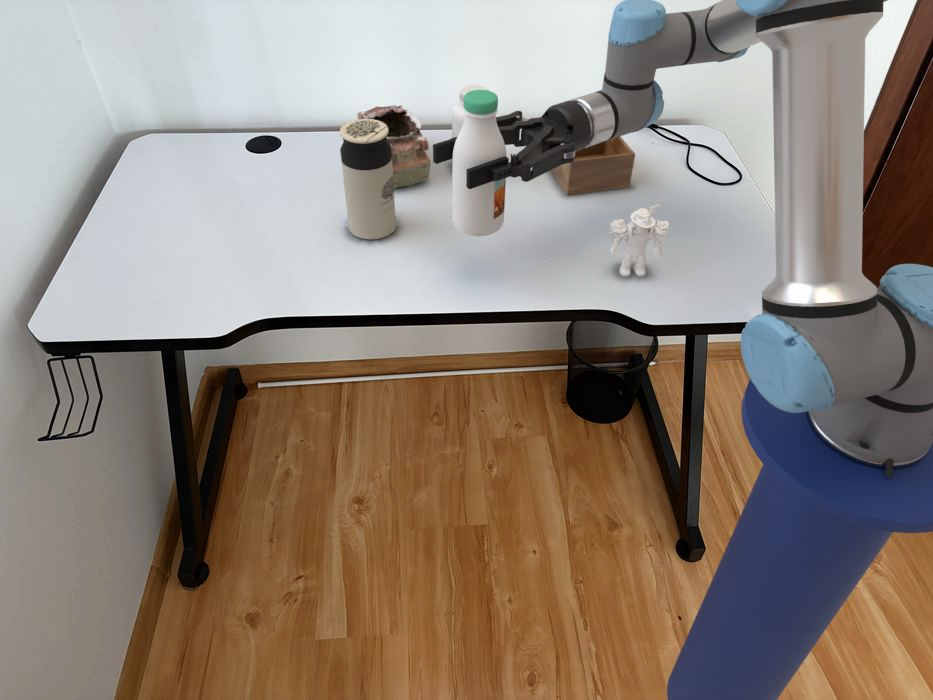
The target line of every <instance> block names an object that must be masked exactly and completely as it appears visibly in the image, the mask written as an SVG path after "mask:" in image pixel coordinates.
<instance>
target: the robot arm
mask: <svg viewBox="0 0 933 700" xmlns="http://www.w3.org/2000/svg"><path fill="white" fill-rule="evenodd" d="M887 1H889V0H720V1H718V2H716V3H715V4H712V5H710V6H708V7H707V8H703V9H698V10H691V11H690V10H689V11H680V12H668V13H667V11H666V8H665V6H664V5H663V4H662V3H661V2H660V1H659V2H658V1H656V0H622V1H620V2H619V3H618V4H617V5H616V6H615V7H614V9H613V13H612V18H611V21H610V26H609V30H608V41H607V48H606V49H607V51H606V59H605V70H604V75H603V81H602V88H601V89H599V90H597V91H594V92H591V93H587V94H584V95H580V96H577V97H574V98H571V99H570V100H565V101H562V102H559V103H556V104H553V105H550V106H549V107H548V108H547V109H546V110H545V112H544V113H543V114H542V115H541V116H540V117H531V118H526V117H523V111H522V110H515V111H513V112H510V113H509V114H504V115H500V116H496V122H497V125H498V128H499V131H500V133H501V135H502V138H503V140H504V144H505V146H509V145H513V146H514V147H515V148H522V147H523V148H522V149H521V150H520V151H519V152H518V153H516V154H513V153H510V159H509V157H508V156H507V155H506V156H504V157H501V158H499V159H496V160H493V161H490V162H487V163H484V164H481V165H478V166H475V167H472V168H469V169H467V180H466V187H467V188H468V189H472V188H475V187H478V186H481V185H484V184H486V183H489V182H492V181H499V180H502V179H504V178H506V179H507V178H510V177H511V178H518V177H520V178H521V181H522V182H525V183H528V182H530V181H532V180H534V179H536V178H539V177H540V176H542V175H544V174H546V173H548V172H551V170H552V169H554V168H556V167H558V166H560V165H562V164H567V163H571V162H574V158H575V152H577V151H580V150H582V149H584V148H587V147H590V146H593V145H596V144H598V143H601V142H605V141H607V140H611V139H614V138H617V137H622V136H625V135H630V134H632V133H636V132H638V131H641V130H643V129H644V128H647V127H649V126H651V125H653V124H655V123H656V122H658V120H659V119H660V118H661V116H662V114H663V112H664V108H665V100H664V98H663V95H664V93H663V89H662V87H661V86H660V85H659V83H658V82H657V81H656V80H655V77H656V73H657V70H658V69H659V70H660V69H665V68H667V69H668V68H674V67H681V66H688V65H697V64H705V63H715V62H717V63H723V62H727V61H730V60H735V59H739V58H741V57H742V56H744V55H745V54H746V53H747V52H748V50H749V48H751V47H752V46H755V45H757V44H760V43H762V44H764V45H765V46H766V47H767V48H768V49H769V50H770V52H771V58H772V59H771V61H772V62H771V63H772V64H771V65H772V117H773V119H772V121H773V122H772V125H773V126H772V127H773V177H774V179H773V180H774V184H773V185H774V233H775V235H774V236H775V238H774V239H775V240H774V241H775V277H774V279H773V280H772V281H770V282H769V284H768V285H767V286H766V287H765V288H764V289H763V290H762V292H761V307H762V308H761V313H760V314H757V315H755V316H753V317H752V318H751V319H749V320H748V321H747V322H746V324H745V327H744V328H743V329H742V331H741V336H740V352H741V359H742V361H743V365H744V368H745V370H746V372H747V375H748V378H749V380H750V379H751V381H752V383H753V384H754V385H755V386H756V388H757V390H758V391H759V393H760V394H761V395H762V396H763V397H764V398H765V399H766V400H767V401H768V402H769V403H771V404H772V405H773V406H775V407H777V408H779V409H781V410H783V411H786V412H790V413H802V412H806V416H807V420H808V422H809V425H810V427H811V428H812V430H813V431H814V433H815V434H816V435H817V437H818V438H819V439H820V440H821V441H822V442H823V443H824V444H825V445H826V446H828V447H829V448H830V449H832V450H833V451H834V452H836V453H837V454H839V455H841V456H843V457H844V458H846V459H848V460H851V461H853V462H855V463H858V464H861V465H864V466H868V467H872V468H877V469H885V473H886V477H893V470H894V469H902V468H907V467H910V466H912V465H915V464H916V463H918V462H919V461H921V460H922V459H923V458H924V456H925V455H926V454H927V452H928V450H929V449H930V447H931V445H932V443H933V267H932V266H928V265H924V264H917V263H902V264H901V263H900V264H897V265H893V266H892V267H890V268H888V270H887V271H886V272H885V274H884V275H882V276H881V278H880V280H879V286H878V287H877V286H876V285H875V284H874V283H873V282H872V281H871V280H869V279H868V278H867V277H866V276H865V275H864V273H863V223H864V221H863V216H864V215H863V213H864V211H863V210H864V158H865V157H864V155H865V154H864V150H865V144H864V143H865V93H866V92H865V88H866V87H865V86H866V85H865V81H866V71H865V70H866V39H867V36H869V33H870V32H871V31H872V30H873V28H874V27H875V26H876V25H877V24H878V23H879V22H880V21H881V19H882V18H884V3H886V2H887ZM457 137H458V136H457ZM457 137H455V138H452V137H451V138H449V139H446V140H443V141H440V142H436V143H434V144H432V161H433V162H432V163H434V164H435V165H438V164H440V163H441V164H442V163H444V162H446V161H450V160H453V150H454V145H455V142H456V139H457ZM509 160H510V161H509Z"/></svg>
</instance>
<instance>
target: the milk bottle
mask: <svg viewBox="0 0 933 700" xmlns="http://www.w3.org/2000/svg"><path fill="white" fill-rule="evenodd" d="M488 90H489V89H488ZM488 90H473V91H470V92H468V93H466V94H465V96H464V102H463V103H464V113H465V120H464V123H463V126H462V128H461V131H460V133H459V135H458V137H457V139H456V142H455V145H454V150H453V159H452V169H451V170H452V172H451V173H452V174H451V175H452V176H451V178H452V180H451V181H452V182H451V185H452V186H451V187H452V188H451V190H452V191H451V192H452V193H451V197H452V198H451V199H452V200H451V202H452V203H451V204H452V206H451V208H452V216H451V217H452V224H453V226H454V227H455V229H456V230H457V231H458V232H460V233H462V234H464V235H467V236H471V237H487V236H490V235H494V234H495V233H498V231H500V230H501V228H502V227H503V225H504V221H505V204H506V187H507V186H506V183H507V178H504V179H502V180H499V181H492V182H489V183H486V184H484V185H481V186H478V187H475V188H472V189H468V188H467V187H466V180H467V169H469V168H472V167H475V166H478V165H481V164H484V163H487V162H490V161H493V160H496V159H499V158H501V157H504V156H506V157H507V148H506V145H505V144H504V140H503V138H502V135H501V133H500V131H499V128H498V125H497V122H496V117H497V116H496V115H497V114H498V111H499V110H498V106H499V97H498V95H497V94H496V93H495V92H493V91H491V90H489V91H488Z"/></svg>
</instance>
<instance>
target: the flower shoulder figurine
mask: <svg viewBox="0 0 933 700" xmlns="http://www.w3.org/2000/svg"><path fill="white" fill-rule="evenodd" d="M663 204H664V203H663V202H659V204H656V205H654V206H653V205H651V206H650V207H649V210H648V209H647V208H644V207H641V208H638V209H637V210H635V211H633V212H632V213H631V214H630V220H631V221H629V222H628V223H627V224H626V220H625V219H622V218H619V219H618V218H615V219H614V220H613V221H611V223H610V224H609V225H610V226H609V227H610V228H609V234H610V235H612V234H614V236H615V238H614V240H613V243H612V245H611V246H610V250H609V251H610V255H611V256H615V251H616V250H617V251H618V253H620V252H621V245H620V244H621V243H622V242H623V240H625V242H626V243H627V244H626V247H625V249H624V255H623V260H622V262H621V264H620V267H619V274H620V275H621V276H622V277H630V276H631V267H632V262H633V258H634V256H636V261H635V263H634V266H633V271H634V274H635V275H636V276H637V277H645V275H646V261H647V260H646V258H647V244H648V243H649V241H653V244H654V246H655V247H654V248H653V250H652V254H656V253H657V256H656V258H657V259H660V258H662V257H663V253H664V251H663V246H662V240H663V239H665V238H667V237H668V236H670V235H669V234H670V233H669V230H670V222H668V221H667V220H665V219H663V220H662V219H659V220H656V219H655V217H654V216H653V215H652V214H651V213H654V214H655V212H656V210H660V208H661V207H662V205H663ZM617 234H618V235H617ZM659 235H662V237H661V236H659ZM663 235H665V236H663Z"/></svg>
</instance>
